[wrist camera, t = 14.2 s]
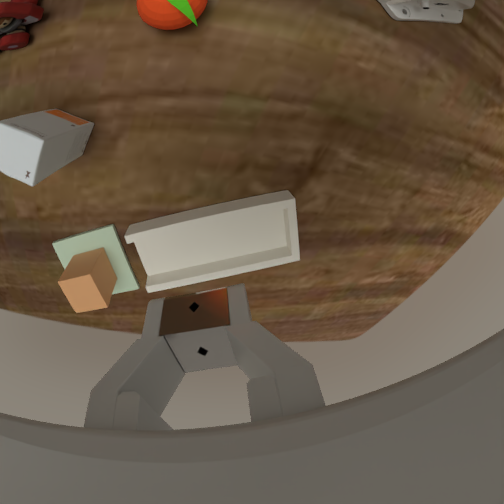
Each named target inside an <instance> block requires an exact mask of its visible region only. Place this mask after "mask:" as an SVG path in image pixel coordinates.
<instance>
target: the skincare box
mask: <svg viewBox="0 0 504 504" xmlns="http://www.w3.org/2000/svg"><path fill="white" fill-rule="evenodd" d="M93 126H94V123H92V122H89V121H86V120H84V119H81V118H79V117H76V116H74V115H71V114H69V113H67V112H64V111H62V110H59V109H51V110H45V111H40V112H35V113H31V114H26V115H22V116H18V117H14V118H10V119H6V120H2V121H0V171H1V172H3V173H4V174H6V175H8V176H10V177H12V178H15V179H17V180H19V181H22V182H24V183H26V184H28V185H30V186H35V185H36V184H38V183H39V182H40V181H42V180H43V179H45V178H46V177H48V176H49V175H51V174H52V173H54V172H56V171H57V170H59V169H60V168H62V167H64V166H65V165H67V164H68V163H70V162H72V161H74V160H75V159H77V158H79V157H80V156H82V155H83V152H84V149H85V147H86V144H87V141H88V139H89V136H90V134H91V131H92V129H93Z"/></svg>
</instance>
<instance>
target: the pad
mask: <svg viewBox="0 0 504 504" xmlns="http://www.w3.org/2000/svg"><path fill="white" fill-rule="evenodd" d="M52 245H53V247H54V249H55V251H56V253H57V255H58V257H59V259H60V261H61V263H62V265H63V267H64V269H66V267H67V265H68V263H69V262H70V260H71V259H72V257H73V255H77V254H80V253H84V252H88V251H92V250H95V249H99V248H104V250H105V252H106V254H107V257H108V259H109V261H110V263H111V266H112V268H113V270H114V272H115V274H116V276H117V281H116V284H115V287H114V290H113V293H112V294H116V293H121V292H126V291H131V290H136V289H139V287H140V286H139V283H138V281H137V279H136V277H135V275H134V272H133V270H132V268H131V265H130V263H129V261H128V258H127V256H126V254H125V251H124V249H123V246H122V244H121V241H120V239H119V236H118V234H117V231H116V228H115V226H114V224H110V225H107V226H103V227H100V228H96V229H93V230H90V231H86V232H83V233H80V234H76V235H73V236H70V237H67V238H63V239H60V240H57V241H54V242H53V243H52Z"/></svg>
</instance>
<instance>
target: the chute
mask: <svg viewBox="0 0 504 504" xmlns="http://www.w3.org/2000/svg"><path fill="white" fill-rule="evenodd" d="M124 237H125V239H126V242H127V244H128V243H132V242H134V243H135V246H136V248H137V251H138V253H139V256H140V258H141V261H142V263H143V266H144V268H145V271H146V273H147V275H148V277H147V282H146V289H147V292H148V293H150V292H155V291H160V290H165V289H170V288H175V287H179V286H184V285H189V284H194V283H199V282H203V281H208V280H213V279H217V278H222V277H227V276H231V275H236V274H241V273H245V272H250V271H254V270H259V269H263V268H268V267H272V266H277V265H281V264H286V263H290V262H294V261H299V260H300V254H299V240H298V227H297V215H296V203H295V198H294V197H293V195H292V194H291V193H290V192H289V191H288V190H285V191H279V192H274V193H269V194H263V195H258V196H253V197H248V198H243V199H238V200H234V201H229V202H224V203H219V204H215V205H210V206H206V207H201V208H197V209H192V210H188V211H184V212H180V213H175V214H171V215H167V216H163V217H159V218H155V219H151V220H147V221H143V222H139V223H135V224H132V225H129V227H128V229H127V232H126V234H125V236H124Z"/></svg>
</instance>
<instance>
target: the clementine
mask: <svg viewBox="0 0 504 504" xmlns="http://www.w3.org/2000/svg"><path fill="white" fill-rule="evenodd" d="M207 1H208V0H137V9H138V13H139V15H140V17H141V19H142V20H143V21H144V22H146V23H147V24H148V25H150V26H152V27H155V28H157V29H163V30H173V29H178V28H182V27H185V26H187V25H189V24H191V23H192V22H193V23H194V24H195V25H196V26H197V22H196V19H197V18H198V17H199V16H200V15H201V14H202V12H203V11H204V9H205V7H206V4H207ZM197 27H198V26H197Z"/></svg>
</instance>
